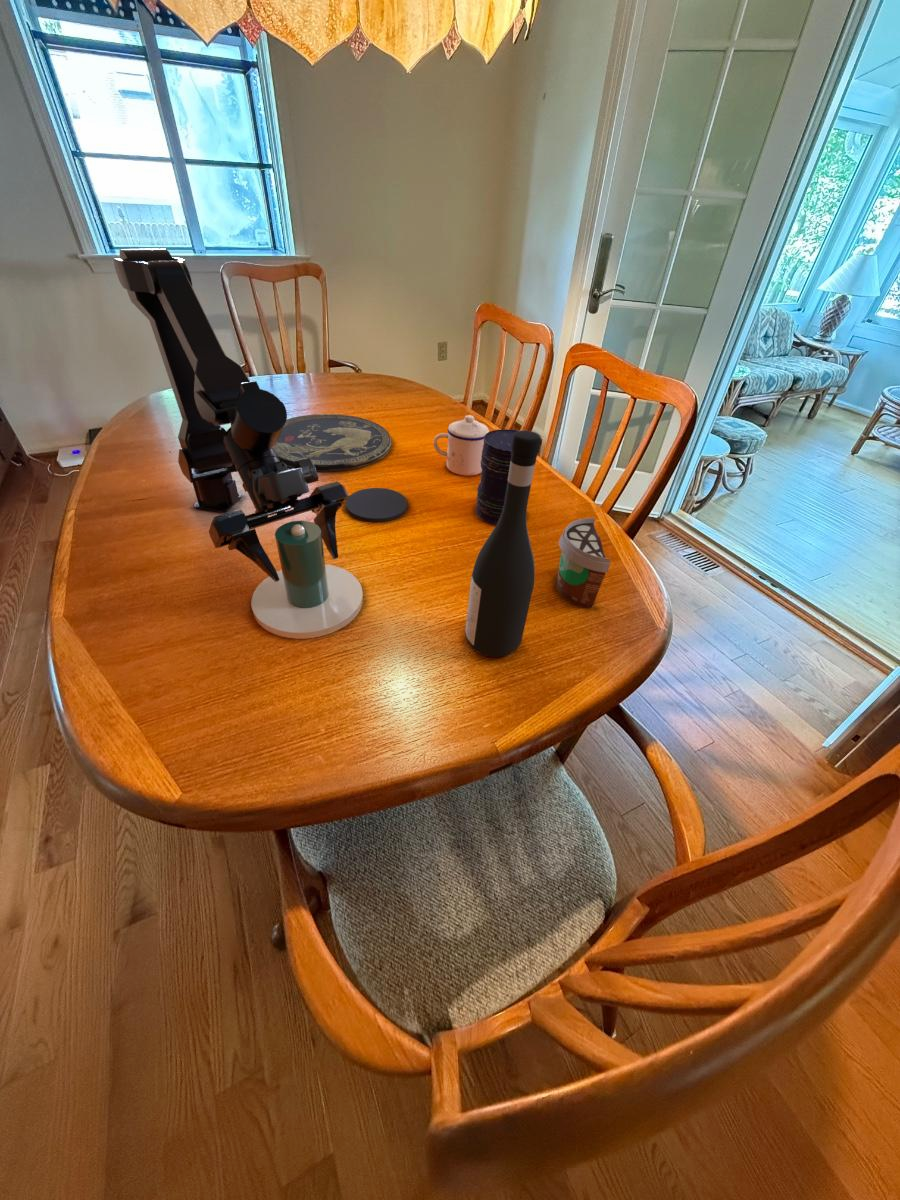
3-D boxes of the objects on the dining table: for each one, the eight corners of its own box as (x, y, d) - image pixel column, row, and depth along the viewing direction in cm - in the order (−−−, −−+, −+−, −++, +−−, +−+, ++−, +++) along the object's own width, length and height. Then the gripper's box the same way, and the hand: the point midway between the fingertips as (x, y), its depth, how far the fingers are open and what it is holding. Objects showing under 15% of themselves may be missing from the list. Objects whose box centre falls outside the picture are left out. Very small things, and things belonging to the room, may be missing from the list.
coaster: (337, 517, 93) (336, 513, 92) (356, 487, 102) (356, 484, 101) (399, 526, 92) (399, 522, 91) (413, 495, 101) (413, 492, 100)
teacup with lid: (486, 461, 116) (492, 411, 108) (483, 478, 109) (490, 426, 101) (435, 455, 116) (437, 405, 109) (430, 472, 109) (432, 420, 102)
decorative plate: (234, 452, 107) (294, 406, 129) (236, 460, 108) (295, 413, 130) (368, 474, 103) (405, 422, 126) (368, 482, 105) (405, 430, 127)
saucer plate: (232, 628, 69) (230, 622, 68) (280, 562, 81) (279, 556, 80) (343, 647, 68) (342, 640, 67) (375, 577, 80) (375, 571, 79)
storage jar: (478, 526, 94) (487, 450, 84) (472, 500, 101) (479, 428, 91) (530, 526, 95) (544, 451, 85) (519, 500, 102) (532, 429, 93)
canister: (280, 604, 72) (265, 533, 64) (296, 579, 76) (284, 510, 68) (320, 611, 71) (310, 540, 63) (334, 585, 76) (326, 517, 68)
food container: (544, 564, 86) (556, 513, 79) (580, 566, 86) (594, 516, 79) (554, 611, 76) (568, 558, 70) (593, 613, 76) (611, 561, 70)
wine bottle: (456, 650, 68) (478, 440, 49) (474, 615, 74) (501, 415, 55) (512, 668, 67) (558, 457, 47) (526, 630, 72) (572, 429, 53)
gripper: (192, 457, 56) (252, 582, 57) (336, 425, 66) (385, 532, 67) (187, 492, 66) (239, 598, 67) (314, 459, 76) (357, 552, 77)
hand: (307, 569), depth 69 cm, fingers open, 9 cm apart
